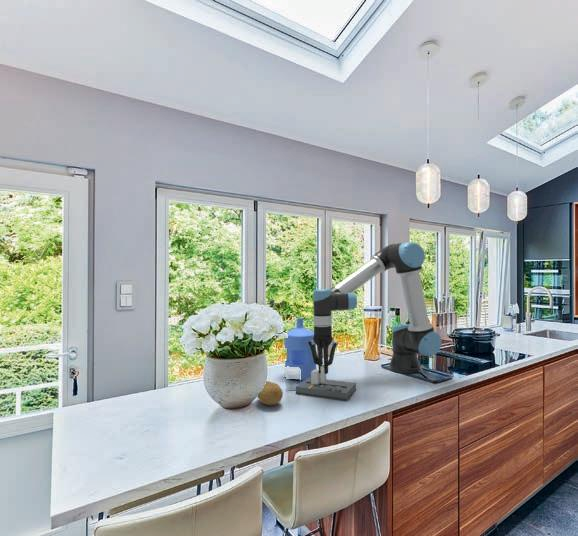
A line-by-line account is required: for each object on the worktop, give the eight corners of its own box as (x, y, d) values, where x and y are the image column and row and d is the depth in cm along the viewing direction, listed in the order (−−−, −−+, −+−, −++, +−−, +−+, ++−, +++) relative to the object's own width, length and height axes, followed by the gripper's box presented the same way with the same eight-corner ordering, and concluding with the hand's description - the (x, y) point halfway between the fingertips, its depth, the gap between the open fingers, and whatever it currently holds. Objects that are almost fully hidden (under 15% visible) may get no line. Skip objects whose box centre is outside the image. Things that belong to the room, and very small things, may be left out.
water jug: (300, 369, 187) (299, 316, 187) (323, 375, 176) (322, 318, 176) (278, 376, 176) (277, 319, 176) (301, 383, 165) (300, 322, 165)
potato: (273, 396, 149) (273, 376, 149) (288, 407, 136) (288, 386, 136) (251, 400, 144) (250, 380, 145) (264, 412, 132) (264, 390, 132)
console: (356, 390, 154) (355, 379, 154) (346, 401, 142) (346, 389, 142) (308, 384, 164) (308, 374, 164) (295, 393, 151) (295, 383, 151)
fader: (321, 387, 156) (320, 370, 156) (317, 389, 152) (317, 372, 152) (314, 386, 157) (314, 369, 157) (311, 389, 153) (311, 371, 153)
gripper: (339, 324, 154) (341, 380, 154) (311, 323, 159) (312, 377, 159) (334, 327, 147) (335, 385, 147) (305, 326, 153) (306, 381, 152)
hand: (323, 381), depth 153 cm, fingers closed
